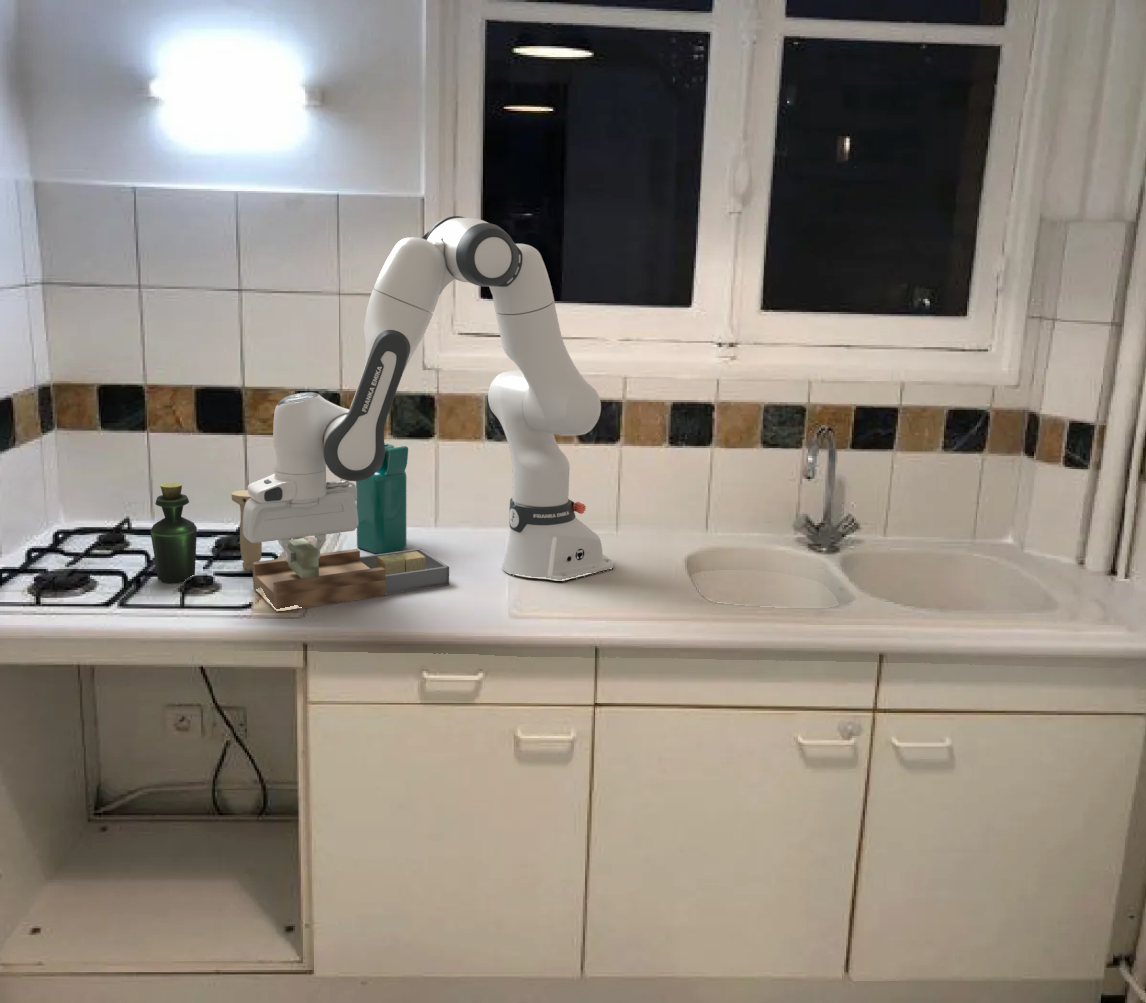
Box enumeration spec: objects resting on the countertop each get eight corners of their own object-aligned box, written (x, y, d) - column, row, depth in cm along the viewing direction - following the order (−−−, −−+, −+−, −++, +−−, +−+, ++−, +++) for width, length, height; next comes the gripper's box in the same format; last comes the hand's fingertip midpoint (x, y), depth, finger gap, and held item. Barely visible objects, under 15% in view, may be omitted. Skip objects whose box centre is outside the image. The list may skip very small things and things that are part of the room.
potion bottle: (159, 571, 206) (154, 479, 202) (204, 571, 207) (199, 479, 203) (148, 585, 199) (141, 489, 194) (194, 585, 199) (188, 490, 195)
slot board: (357, 573, 210) (357, 548, 208) (385, 595, 198) (385, 569, 197) (253, 588, 199) (252, 562, 198) (276, 612, 188) (276, 584, 187)
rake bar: (304, 564, 200) (303, 538, 199) (318, 576, 193) (318, 549, 192) (288, 566, 198) (287, 540, 197) (302, 579, 192) (301, 551, 191)
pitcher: (352, 546, 226) (351, 443, 221) (384, 539, 233) (383, 438, 227) (383, 557, 220) (382, 450, 215) (415, 549, 226) (415, 445, 221)
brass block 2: (397, 573, 209) (416, 571, 211) (405, 579, 205) (425, 577, 207) (397, 553, 208) (416, 551, 210) (405, 559, 204) (425, 556, 206)
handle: (263, 573, 208) (260, 497, 204) (230, 571, 208) (227, 495, 204) (272, 565, 212) (270, 491, 208) (240, 563, 213) (237, 489, 209)
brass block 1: (396, 573, 208) (396, 553, 207) (405, 579, 205) (405, 559, 204) (377, 576, 206) (376, 556, 205) (385, 582, 203) (385, 562, 202)
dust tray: (420, 565, 216) (420, 548, 215) (449, 584, 205) (449, 567, 204) (358, 574, 209) (358, 557, 208) (384, 594, 199) (384, 576, 198)
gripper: (350, 475, 200) (351, 547, 203) (238, 486, 189) (241, 562, 193) (363, 483, 195) (364, 556, 198) (248, 494, 184) (251, 572, 188)
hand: (302, 559), depth 195 cm, fingers closed on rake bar, 3 cm apart
